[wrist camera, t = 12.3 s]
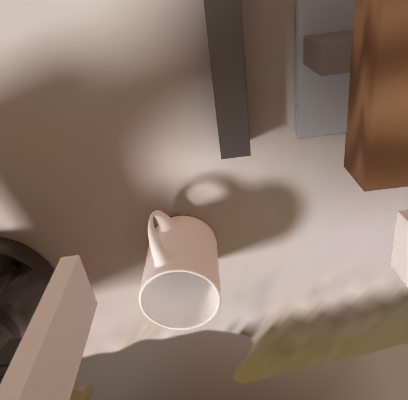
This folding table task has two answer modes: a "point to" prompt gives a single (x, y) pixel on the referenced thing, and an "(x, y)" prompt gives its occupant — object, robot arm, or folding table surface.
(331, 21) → the grey ridged block
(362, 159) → the walnut bar
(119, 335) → the folding table surface
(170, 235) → the mug
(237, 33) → the block
